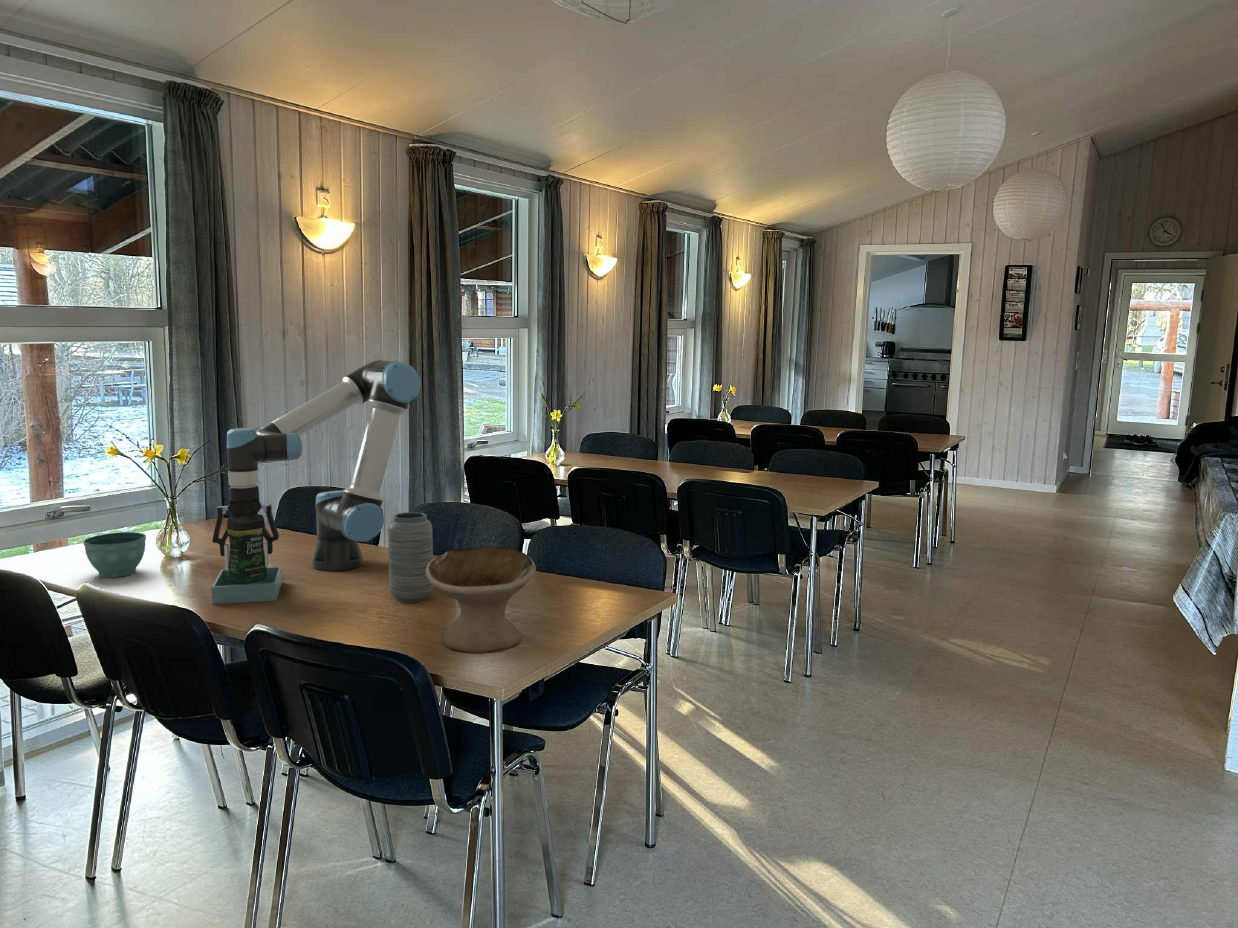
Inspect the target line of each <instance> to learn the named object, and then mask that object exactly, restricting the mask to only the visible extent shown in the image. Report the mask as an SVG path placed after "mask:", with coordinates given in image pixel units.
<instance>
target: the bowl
mask: <svg viewBox="0 0 1238 928" xmlns="http://www.w3.org/2000/svg"><path fill="white" fill-rule="evenodd" d="M536 570H537V567H536V564H535V562H534V560H533V559H532V558H531V557H530V556H529V555H528V554H527V553H525V552H523V551H521V550H518V549H516V548H515V549H514V548H507V547H500V546H479V547H467V548H465V547H464V548H454V549H451V550H447V551H445V552H444V554H441V555H438V556H436V557H433V560H431V561H430V562H429V563H428V565H427V568H426V576H427V578H428V580H429V582H430V584H431V585H432V586H433V589H435V590H437V592H439V593H441V594H442V595H443V596H445V597H447V598H450V599H451V600H456V601H457V602H458V606H459V609H460V615H459V617H458V618H457V619H456V620H454V621H453V622H452V623H451V624H450V626H449V627H448V628H447V629H446V631H445V633H444V634H443V635H444V636H443V638H442V640H443V644H444V645H445V646H446V648H448V649H451V650H454V651H457V652H462V653H471V654H484V653H485V652H486V653H492V652H498V651H497V650H499V651H503V649H504V650H506V649H509V647H510V648H512V646H513V647H514V645H515V646H517V645H518V644H520V643H519V642H521V641H522V636H521V633H520V631H519V630H518V627H517V626H516V625H515V624H514V623H512V621H509V619H507V617H506V614H505V613H506V608H507V606H508V602H509V600H510V598H511V597H513V595H515V594H516V593H518V592H519V591H520V590H521V589H523V587H524V586H526V584H527V583H528V582H529V581H530V580H531V579H532V578H533V577H534V575H535V573H536ZM516 644H517V645H516ZM486 653H485V654H486Z"/></svg>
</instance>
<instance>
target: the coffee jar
mask: <svg viewBox="0 0 1238 928" xmlns="http://www.w3.org/2000/svg"><path fill="white" fill-rule="evenodd" d="M256 517H257V518H258V520H256V519H252V518H251V517H248V516H239V517H233V516H229V517H228V518H227V522H226V523H227V524H226V529H227V533H228V535H229V536H228V537H229V568H228V570H229V571H228V580H229V581H230V582H231V583H233V584H250V583H255V582H259V581H263V580H265V579H266V578H267V569H266V567H265V549H264V536H263V534H262V533H263V527H264V528H265V527H266V522H265V517H264V516H263V514H260V513H257V515H256Z"/></svg>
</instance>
